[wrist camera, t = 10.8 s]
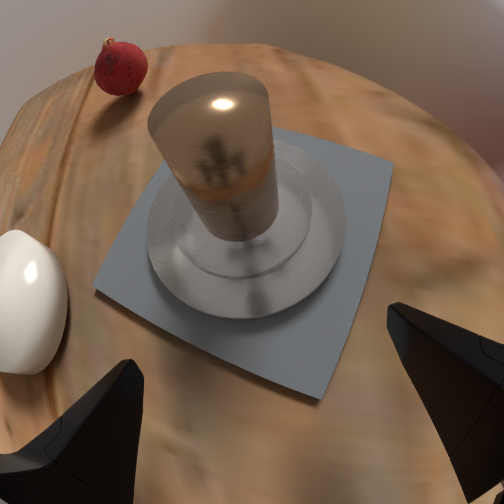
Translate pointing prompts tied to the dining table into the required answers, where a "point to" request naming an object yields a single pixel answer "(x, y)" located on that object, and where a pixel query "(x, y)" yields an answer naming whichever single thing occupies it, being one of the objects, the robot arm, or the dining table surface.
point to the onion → (120, 67)
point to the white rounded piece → (30, 304)
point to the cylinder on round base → (238, 203)
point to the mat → (280, 325)
